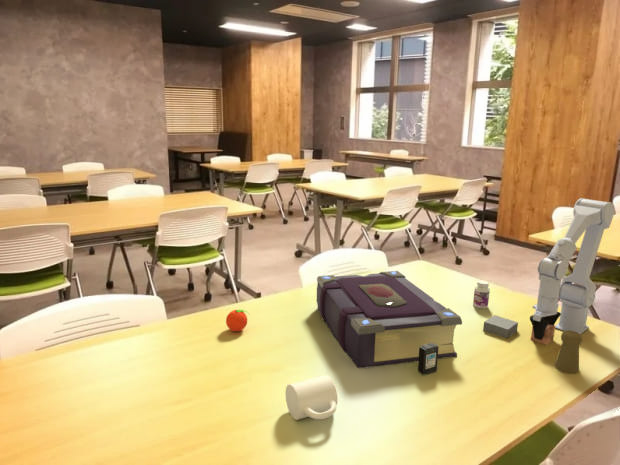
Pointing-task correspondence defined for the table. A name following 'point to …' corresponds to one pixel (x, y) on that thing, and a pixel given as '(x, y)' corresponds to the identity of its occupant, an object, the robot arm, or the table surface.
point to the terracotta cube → (545, 335)
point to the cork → (569, 352)
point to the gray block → (500, 326)
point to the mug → (312, 398)
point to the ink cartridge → (428, 358)
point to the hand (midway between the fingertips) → (542, 335)
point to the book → (384, 318)
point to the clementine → (236, 320)
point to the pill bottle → (481, 295)
